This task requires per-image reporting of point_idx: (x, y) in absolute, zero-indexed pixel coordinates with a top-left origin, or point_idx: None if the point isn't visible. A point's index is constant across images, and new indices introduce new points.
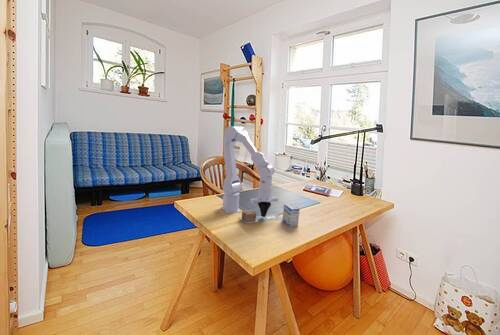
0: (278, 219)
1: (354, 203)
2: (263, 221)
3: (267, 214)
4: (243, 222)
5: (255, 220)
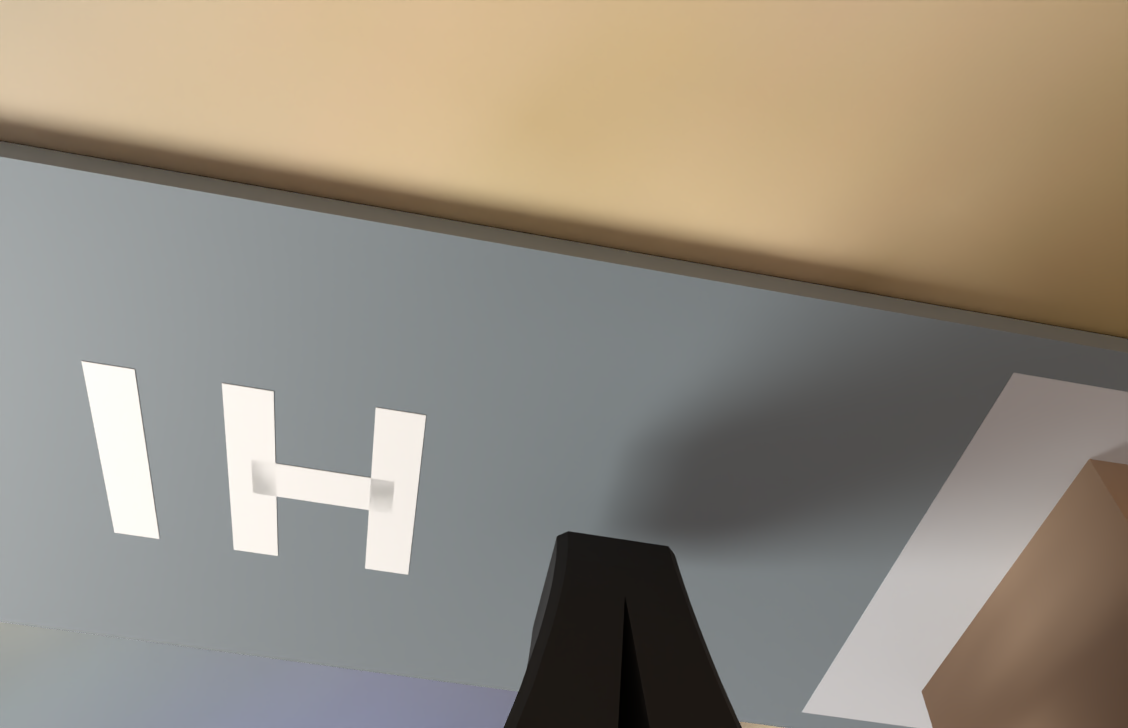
0: (35, 175)
1: None
2: (853, 313)
3: (245, 654)
4: None
5: (1111, 484)
